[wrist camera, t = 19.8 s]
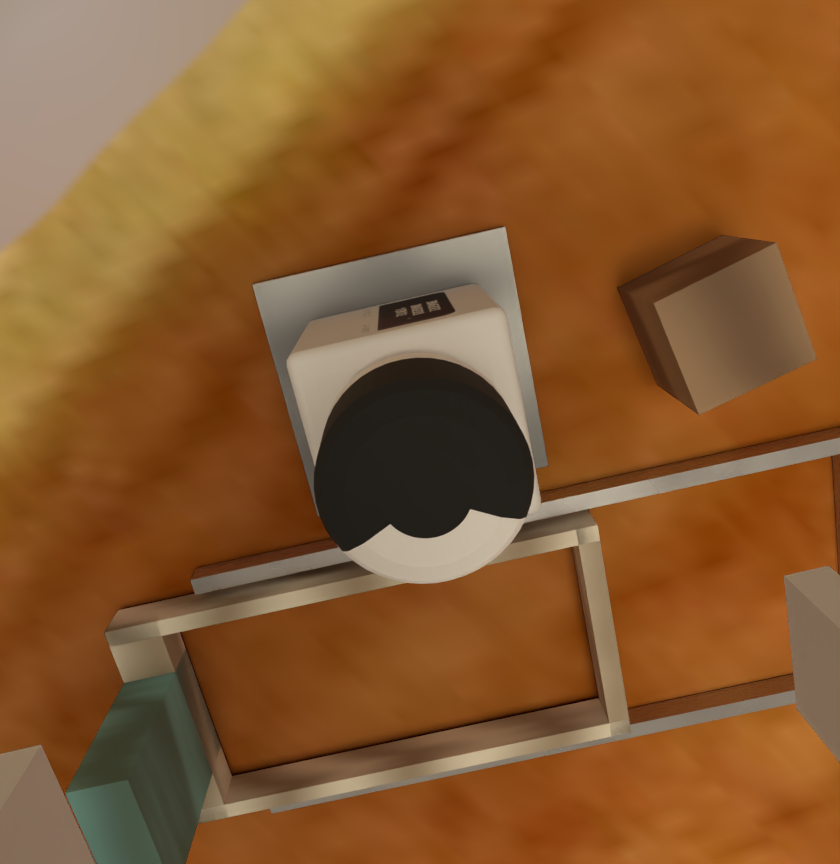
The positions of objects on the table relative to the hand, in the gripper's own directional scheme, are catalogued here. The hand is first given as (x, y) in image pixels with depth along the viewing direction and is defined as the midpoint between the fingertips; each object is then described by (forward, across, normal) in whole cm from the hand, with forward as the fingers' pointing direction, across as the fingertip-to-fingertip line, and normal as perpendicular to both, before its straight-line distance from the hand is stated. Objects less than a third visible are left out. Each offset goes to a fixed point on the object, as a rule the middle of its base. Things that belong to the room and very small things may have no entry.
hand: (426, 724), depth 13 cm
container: (+22, +1, 0) cm, 22 cm away
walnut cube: (+23, +14, +1) cm, 27 cm away
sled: (+23, -4, -13) cm, 26 cm away
